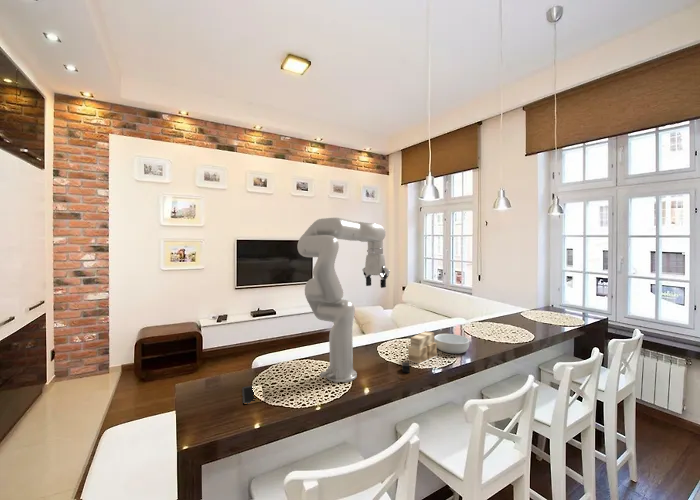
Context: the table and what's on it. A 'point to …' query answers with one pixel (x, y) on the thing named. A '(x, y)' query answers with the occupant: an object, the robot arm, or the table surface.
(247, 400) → the cell phone
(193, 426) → the table surface
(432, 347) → the pillar
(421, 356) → the pillar
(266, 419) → the table surface
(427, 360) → the build board
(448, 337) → the cereal bowl
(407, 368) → the small black block
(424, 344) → the lintel
